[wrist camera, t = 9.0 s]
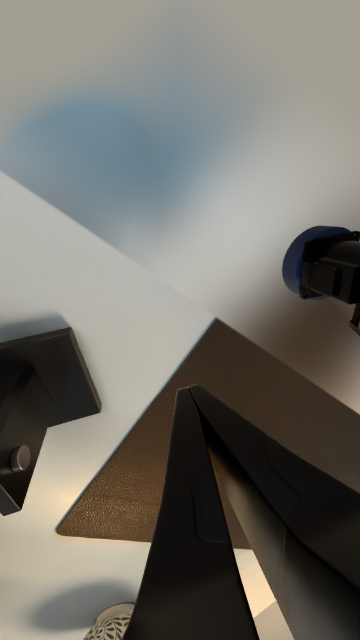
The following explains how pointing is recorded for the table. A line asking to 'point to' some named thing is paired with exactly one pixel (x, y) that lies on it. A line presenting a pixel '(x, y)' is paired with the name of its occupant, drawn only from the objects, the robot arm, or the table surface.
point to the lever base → (37, 403)
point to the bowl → (111, 623)
